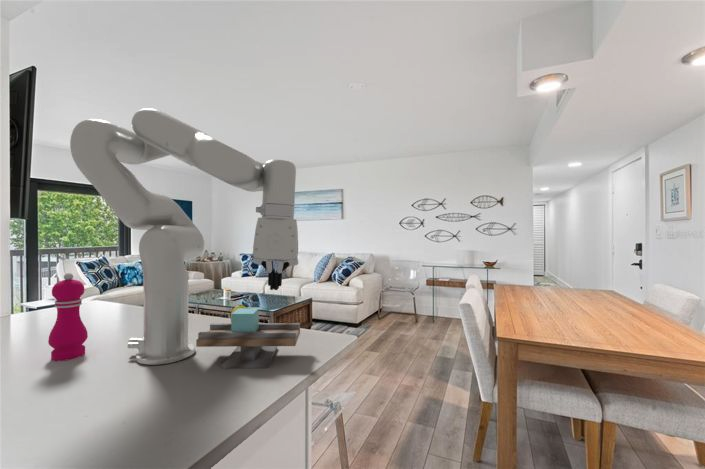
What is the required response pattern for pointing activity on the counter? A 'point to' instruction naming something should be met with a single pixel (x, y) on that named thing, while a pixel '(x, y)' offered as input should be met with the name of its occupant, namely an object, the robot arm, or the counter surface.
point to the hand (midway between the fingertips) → (274, 288)
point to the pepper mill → (68, 320)
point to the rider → (245, 320)
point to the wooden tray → (250, 342)
